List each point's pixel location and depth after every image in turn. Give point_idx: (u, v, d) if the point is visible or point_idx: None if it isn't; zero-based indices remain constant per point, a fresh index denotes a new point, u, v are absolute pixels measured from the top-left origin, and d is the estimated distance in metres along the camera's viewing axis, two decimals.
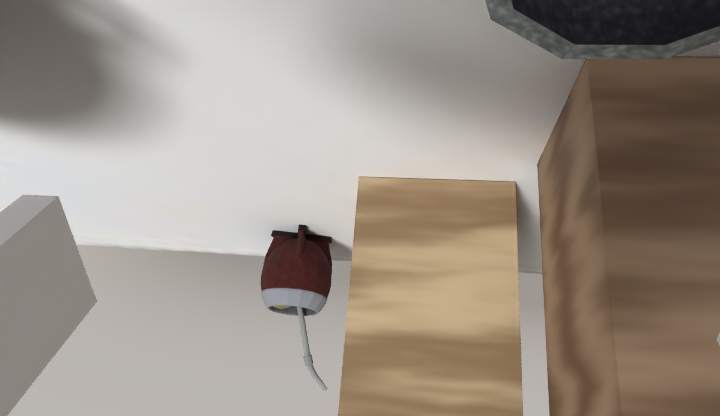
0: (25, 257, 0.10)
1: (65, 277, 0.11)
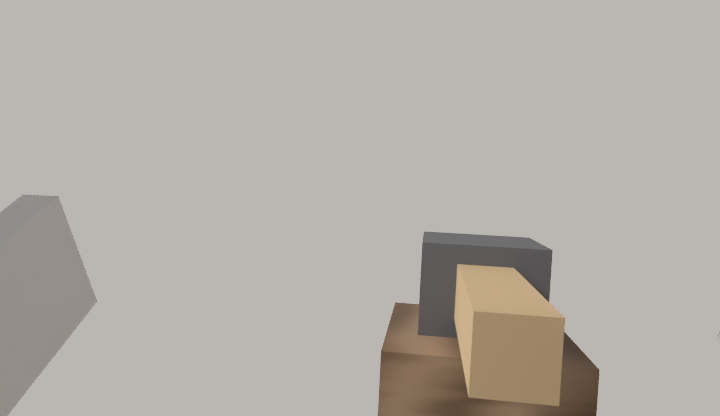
0: (25, 257, 0.10)
1: (65, 277, 0.11)
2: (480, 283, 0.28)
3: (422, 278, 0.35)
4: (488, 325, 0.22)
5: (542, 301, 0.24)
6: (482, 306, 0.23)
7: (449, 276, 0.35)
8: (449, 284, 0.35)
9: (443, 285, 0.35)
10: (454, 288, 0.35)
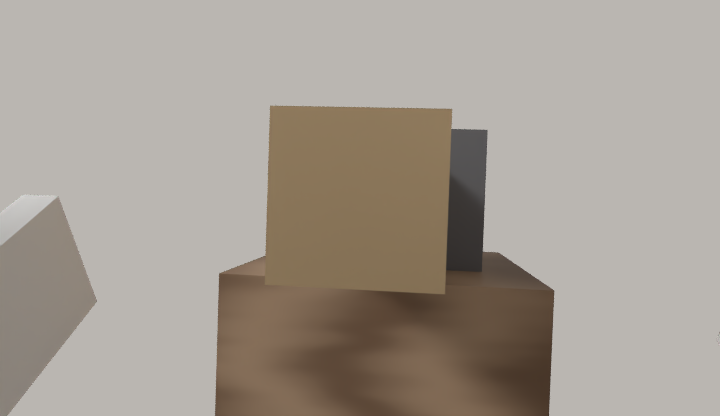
0: (24, 257, 0.10)
1: (65, 277, 0.11)
2: None
3: None
4: (299, 133, 0.11)
5: None
6: None
7: None
8: None
9: None
10: None
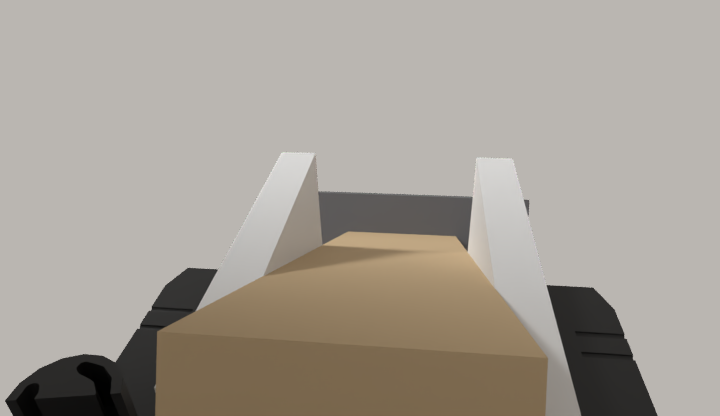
0: (304, 204, 0.11)
1: (314, 226, 0.12)
2: (346, 255, 0.11)
3: None
4: (217, 391, 0.05)
5: (480, 292, 0.08)
6: (238, 311, 0.06)
7: None
8: None
9: None
10: None
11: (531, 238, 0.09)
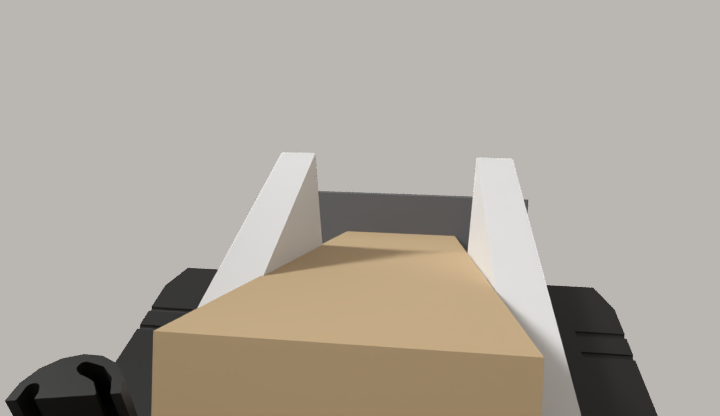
0: (305, 204, 0.11)
1: (315, 226, 0.12)
2: (344, 255, 0.11)
3: None
4: (214, 391, 0.05)
5: (478, 292, 0.08)
6: (235, 311, 0.06)
7: None
8: None
9: None
10: None
11: (531, 238, 0.09)
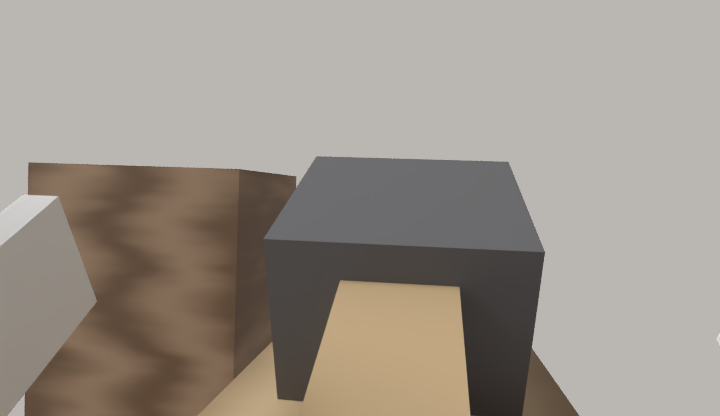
0: (25, 257, 0.10)
1: (65, 277, 0.11)
2: None
3: (272, 306, 0.17)
4: None
5: None
6: None
7: (326, 302, 0.17)
8: (327, 317, 0.17)
9: (316, 318, 0.17)
10: None
11: None
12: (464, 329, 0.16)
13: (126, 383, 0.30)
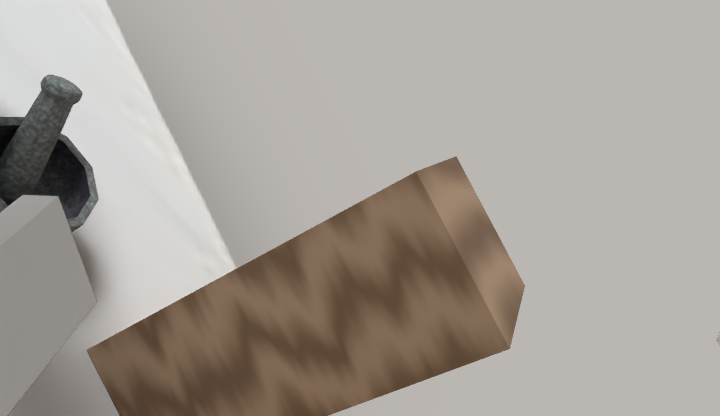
0: (25, 257, 0.10)
1: (65, 277, 0.11)
2: None
3: None
4: None
5: None
6: None
7: None
8: None
9: None
10: None
11: None
12: None
13: (309, 328, 0.37)
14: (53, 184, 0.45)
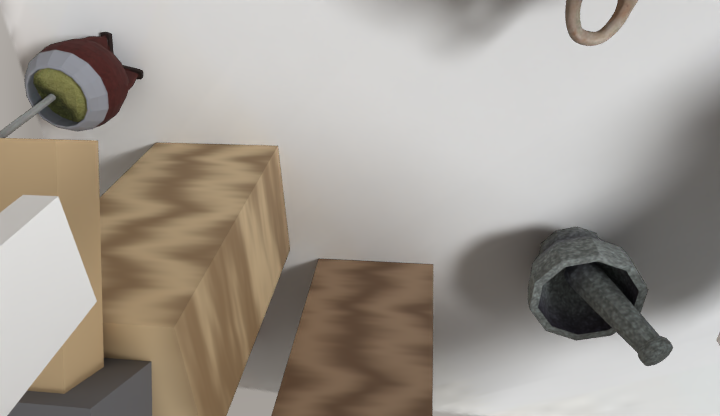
0: (24, 257, 0.10)
1: (65, 277, 0.11)
2: None
3: (115, 387, 0.29)
4: (51, 139, 0.27)
5: None
6: (48, 159, 0.27)
7: (82, 387, 0.29)
8: (87, 383, 0.29)
9: (95, 383, 0.29)
10: (84, 381, 0.30)
11: None
12: None
13: None
14: (574, 305, 0.52)
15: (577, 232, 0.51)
